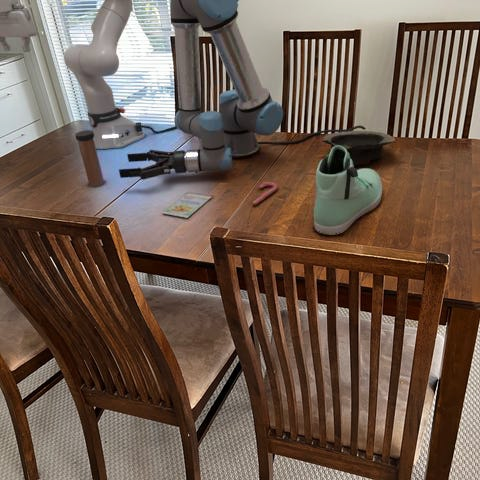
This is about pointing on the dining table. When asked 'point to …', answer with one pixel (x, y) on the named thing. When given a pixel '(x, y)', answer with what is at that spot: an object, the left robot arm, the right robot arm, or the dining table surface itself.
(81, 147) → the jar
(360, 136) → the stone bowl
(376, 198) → the sneaker
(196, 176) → the dining table surface
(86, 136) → the lid
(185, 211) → the baking ingredient package
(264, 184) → the candy cane
